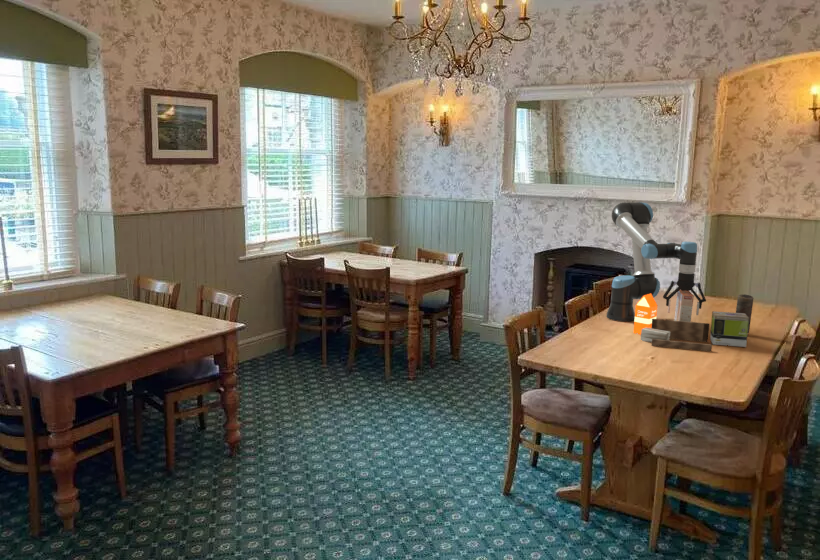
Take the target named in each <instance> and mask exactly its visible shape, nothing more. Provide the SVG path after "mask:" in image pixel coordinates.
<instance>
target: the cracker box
mask: <svg viewBox="0 0 820 560" xmlns="http://www.w3.org/2000/svg"><path fill="white" fill-rule="evenodd" d="M694 297H695V295H694V294H693V293H692V292H691V290H690V291H682V290H679V291H678V292H677V293H676V301H675V310H674V311H675V313H674V318H673V320H674V321H685V322H692V321H691V320H692V313H693V306H694V299H695V298H694Z"/></svg>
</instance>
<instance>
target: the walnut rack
mask: <svg viewBox="0 0 820 560" xmlns="http://www.w3.org/2000/svg"><path fill="white" fill-rule="evenodd" d="M651 328H652V329H658V330H663V331H668V332H670V337H669V340H659V339H652V343H651V346H652V347H659V346H660V347H661V348H669V347H670V348H671V349H679V348H682V349H681V350H689V349H692V350H691V351H700V350H701V352H710V351H711V352H712V348H713V344H712V343H711V344H708V341H709V335H710V334H709V331H710V323H709V322H708V323H706V322H695V321H694V322H693V321H691V322H685V321H674V319H673V320H672V319H671V320H670V319H662V318H659V319H658V318H656V319H652V327H651ZM679 340H681V341H679ZM689 341H691V342H689ZM700 342H701V343H700Z"/></svg>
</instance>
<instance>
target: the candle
mask: <svg viewBox="0 0 820 560" xmlns="http://www.w3.org/2000/svg"><path fill="white" fill-rule="evenodd" d="M754 300H755V299H754V297H753V296H752V295H749V294H738V295H737V300H736V301H737V302H736V306H735V308H736V309H735V313H745V314H746V315H747V316H748V317H749V323H748V334H749V333H750V329H751V320H752V311H753V307H754V306H753V305H754Z"/></svg>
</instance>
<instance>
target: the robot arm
mask: <svg viewBox="0 0 820 560" xmlns="http://www.w3.org/2000/svg"><path fill="white" fill-rule="evenodd" d="M653 217H654V210H653V208H652V206H651V205H650V204H649V203H647V202H641V201H639V202H635V201H634V202H633V201H632V202H620V203H618V204H616V205H615V206H614V207H613V209H612V211H611V220H612V222H613V224H615V226H616V227H617V228H619V229H620V228H621V229H622V230H623V231H624V232H625V234H627V235H628V236H629V238H631V245H632V258H633V264H634V265H633V267H634V273H632V275H619V276H615V277H613V279H612V283H611V294H610V295H611V296H610V305H609V307H608V309H607V312H606V318H607V319H608V318H609V319H608V320H611V319H612V321H616V320H618V321H617V322H631V321H632V320H633V321H634V319H635V309H634V306H633V305H634V300H641V298H642V297H643V296H644V295H647V294H652V296H653V298H654V299H655V298H657V296H658V294H659V293H660V290H661V283H660V281H659V279H658V277H655V273H654V272H653V271H652V268H651V267H652V265H651V260H654V259H655V260H656V259H678V260H679V264H678V276H677V281H674V280H671V281H670V285H669V286H668V288H667V289H666V291H665V293H664V294H663V296H662V298H663V299H664V300H666V303H665V306H666V307H667V314H670V311H671V299H672V298H673V297H674V296H675V295H677V292H678V291H679V290H682V291H690V292H691V293H692V294H693V295H694V297H695V298H696V299H697V302H696V303H697V304H696V311H695V312H696V316H699V312H700V310H701V309H702V305H703V303H705V302H707V299H706V297H705V295H704V292H703V290H702V287H701V286H702V285H701V283H700V282H695V276H696V274H695V272H696V263H697V255H698V243H696V241H682V242H681V243H677V242H667V243H658V242H657V241H656V240H655V239H654V238H652V236H651V235H650V234H648V228H649V227H650V223H651V222H652V221H653ZM675 286H677V287H676V288H675V289H674V290H673V291H672V289H673V288H674V287H675ZM694 287H696V288H697V289H698V291H699V293H700V296H701V298H700V296H699V295H698V294H697V292H696V291H695V290H694ZM671 291H672V292H671ZM670 292H671V293H670ZM669 293H670V294H669ZM633 321H632V322H633Z"/></svg>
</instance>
